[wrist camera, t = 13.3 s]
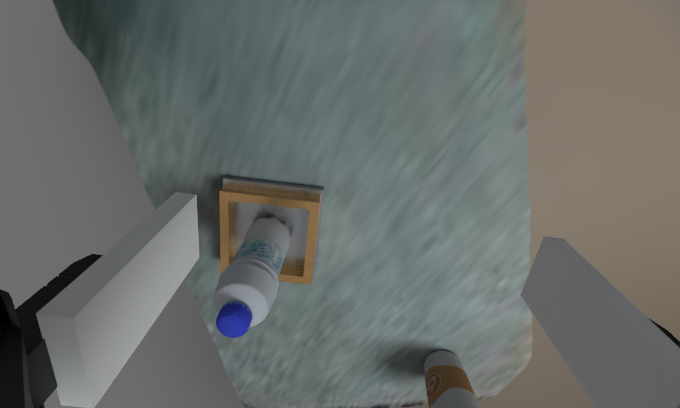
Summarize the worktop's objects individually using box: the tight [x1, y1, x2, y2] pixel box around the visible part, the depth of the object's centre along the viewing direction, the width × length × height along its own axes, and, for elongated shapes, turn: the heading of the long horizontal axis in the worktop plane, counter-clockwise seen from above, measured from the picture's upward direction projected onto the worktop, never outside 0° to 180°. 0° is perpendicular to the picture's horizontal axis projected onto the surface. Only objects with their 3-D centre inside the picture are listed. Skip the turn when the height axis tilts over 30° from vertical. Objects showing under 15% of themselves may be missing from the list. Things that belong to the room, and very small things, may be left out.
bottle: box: [213, 217, 290, 338], centre depth 45 cm, size 7×7×20 cm
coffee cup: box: [424, 350, 480, 408], centre depth 59 cm, size 8×8×15 cm
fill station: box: [219, 176, 324, 285], centre depth 54 cm, size 15×14×4 cm
